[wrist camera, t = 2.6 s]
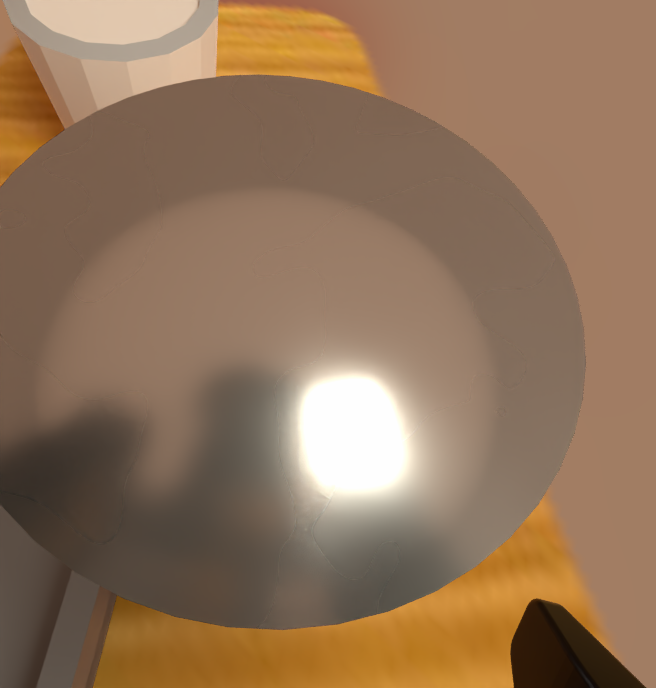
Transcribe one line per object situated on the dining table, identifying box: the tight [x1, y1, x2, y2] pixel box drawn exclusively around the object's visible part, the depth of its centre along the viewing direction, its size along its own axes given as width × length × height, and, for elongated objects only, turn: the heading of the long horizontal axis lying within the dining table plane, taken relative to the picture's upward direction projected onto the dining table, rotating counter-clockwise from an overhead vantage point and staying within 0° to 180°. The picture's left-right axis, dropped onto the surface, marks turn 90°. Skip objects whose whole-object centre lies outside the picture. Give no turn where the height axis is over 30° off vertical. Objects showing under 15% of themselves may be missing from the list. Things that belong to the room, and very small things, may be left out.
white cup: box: [3, 0, 218, 129], centre depth 21 cm, size 7×7×7 cm
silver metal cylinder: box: [0, 75, 586, 630], centre depth 11 cm, size 6×6×14 cm
